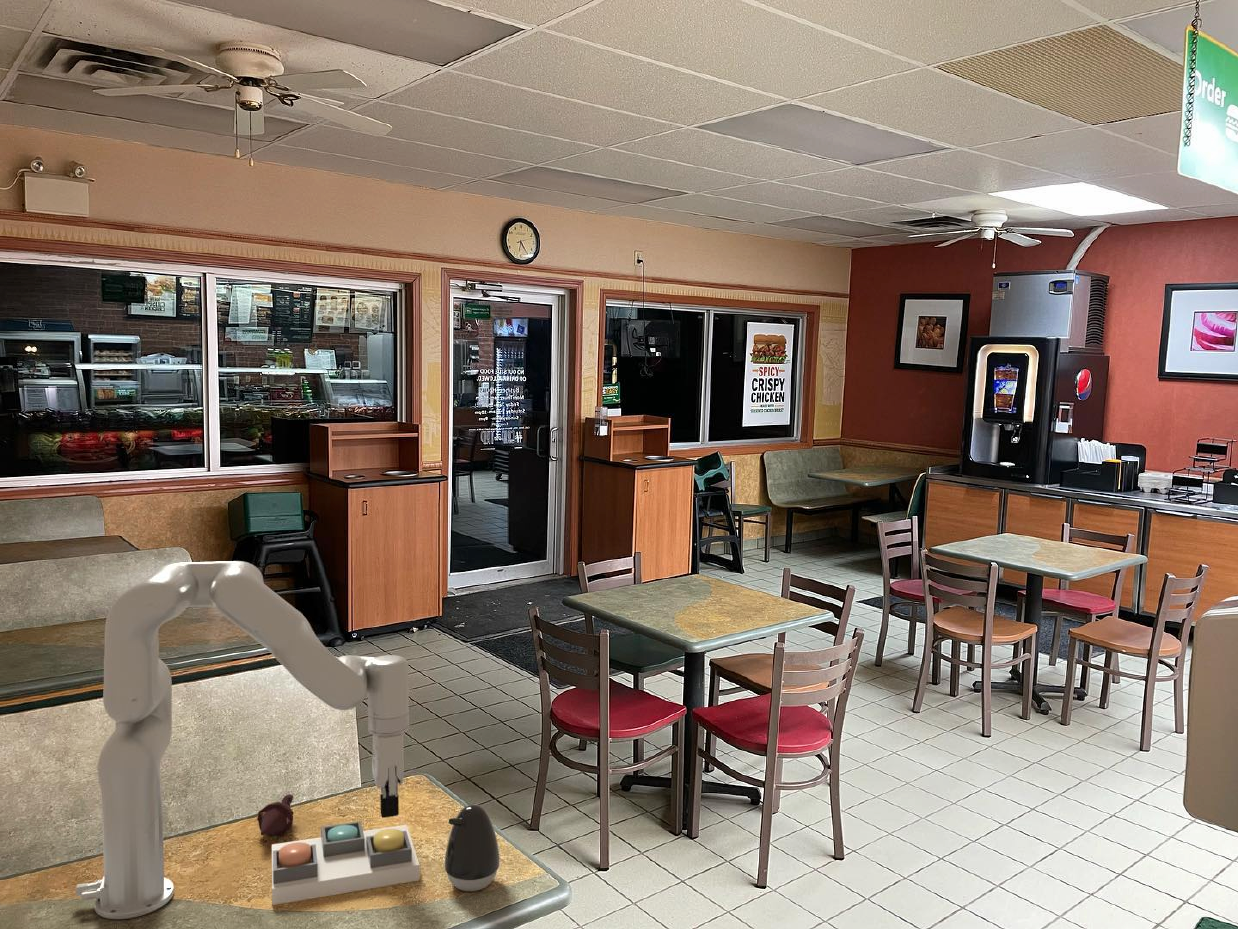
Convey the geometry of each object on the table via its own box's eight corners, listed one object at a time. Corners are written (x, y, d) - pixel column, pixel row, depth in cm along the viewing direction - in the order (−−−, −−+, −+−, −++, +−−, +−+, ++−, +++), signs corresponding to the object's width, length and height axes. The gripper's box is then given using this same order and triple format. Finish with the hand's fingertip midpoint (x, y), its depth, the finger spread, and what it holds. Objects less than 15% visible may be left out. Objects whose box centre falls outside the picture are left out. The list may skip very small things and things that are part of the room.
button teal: (328, 852, 176) (328, 840, 176) (326, 839, 181) (326, 827, 181) (358, 848, 178) (358, 836, 178) (356, 835, 183) (356, 823, 183)
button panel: (272, 905, 164) (272, 875, 163) (271, 859, 179) (271, 832, 179) (419, 880, 173) (419, 852, 172) (406, 838, 189) (406, 813, 188)
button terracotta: (279, 872, 166) (278, 859, 166) (278, 857, 171) (278, 845, 171) (311, 867, 168) (311, 854, 168) (310, 852, 173) (310, 840, 173)
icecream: (284, 822, 182) (309, 795, 197) (248, 812, 182) (276, 785, 197) (275, 855, 182) (300, 826, 197) (239, 845, 182) (267, 817, 197)
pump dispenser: (432, 884, 172) (432, 806, 170) (476, 864, 179) (477, 789, 178) (466, 906, 165) (466, 824, 163) (510, 884, 172) (511, 806, 171)
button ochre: (375, 857, 172) (375, 845, 172) (372, 843, 177) (372, 831, 177) (405, 852, 174) (405, 840, 174) (401, 838, 179) (401, 827, 179)
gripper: (364, 711, 180) (365, 801, 181) (372, 738, 166) (373, 836, 167) (403, 706, 182) (404, 795, 184) (414, 733, 168) (415, 829, 170)
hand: (389, 814), depth 175 cm, fingers closed
